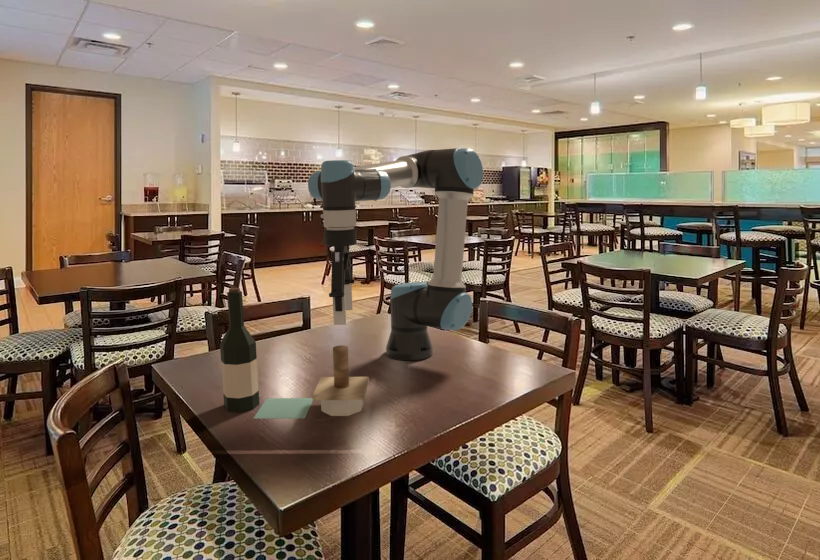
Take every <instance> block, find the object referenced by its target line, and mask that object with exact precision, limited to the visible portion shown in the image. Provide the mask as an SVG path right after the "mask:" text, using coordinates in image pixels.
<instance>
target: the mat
mask: <svg viewBox="0 0 820 560" xmlns="http://www.w3.org/2000/svg"><path fill="white" fill-rule="evenodd" d="M313 401H314V400H313V399H312V397H279V398H278V397H269V398H266V399H265V400H264V402H263V404H262V405H261V406H260V408H259V410H258V411H257V412H256V414H255V415H254V417H253V420H254V419H255V420H256V419H262V420H264V419H273V420H275V419H305V418H306V417H307V414H308V413H309V411H310V408H311V406H312V404H313Z"/></svg>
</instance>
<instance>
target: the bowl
mask: <svg viewBox="0 0 820 560" xmlns="http://www.w3.org/2000/svg"><path fill="white" fill-rule="evenodd" d="M363 405H364V400H320V410H321V412H323V413H325V414H327V415H328V416H330V417H350V416H351V415H354V414H357V413H359V412H362V409H363Z"/></svg>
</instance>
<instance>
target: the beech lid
mask: <svg viewBox="0 0 820 560" xmlns="http://www.w3.org/2000/svg"><path fill="white" fill-rule="evenodd" d="M332 358H333V359H332V360H333V361H332V363H333V364H332V365H333V376H320V379H319V381H318V383H317V385H316V387H315V389H314V391H313V393H312V394H311V395H312V397H311V398H312V399H313V401H321V400H363V401H365V398H366V396H367V395H366V394H367V391H368V390H367V389H368V385H369V381H370V380H369V378H370V377H369V376H350V369H349V368H350V367H349V346H348V345H336V346H333V347H332Z"/></svg>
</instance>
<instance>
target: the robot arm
mask: <svg viewBox="0 0 820 560" xmlns="http://www.w3.org/2000/svg"><path fill="white" fill-rule="evenodd" d="M483 169H484V167H483V164H482V160H481V158H480V156H479V155H478V153H477V152H476V151H475V150H474V149H472V148H468V147H466V148H463V147H455V148H444V149H428V150H424V151H419V152H415V153H413V154H412V153H411V154H408V155H401V156H399V157H398V158H397V159H396V160H391V161H383V162H378V163H371V164H365V165H357V166H354V161H352V160H347V159H346V160H345V159H344V160H342V159H340V160H339V159H335V160H325V161H322V163H321V167H320V170H319V171H318V170H317V171H314V172H313V173H312V174H310V176H309V178H308V181H307V188H308V192H309V194H310V196H311V197H312V198H313V199H315V200H320V201H322V202H321V203H322V213H321V214H320V218H321V219H323V221H322V222H323V227H324V228H325V229H324V230H323V243H324V245H325V246H326V247H333V248H334V250H333V252H331V253H330V255H331V286H330V288H331V289H330V292H329V293H328V297H329V298H332V312H333V317H332V318H333V326H342V325H343V326H344V325H347V311H353V292H352V290H353V289H352V285H353V284H355V279H354V278H353V276H352V274H353V273H352V266H351V251H350V247H351V246H355V245H356V244H357V239H358V238H357V229H356V228H355V227H356V226H357V212H356V211H357V210H356V202H368V201H371V202H372V201H375V202H376V201H378V200H383V199H386V198H387V197H388V196H389V194H390V192H391V189H393V188H403V189H410V188H423V189H424V188H425V189H434V194H435V196H436V197H437V198H438V211H437V222H436V223H437V224H436V237H435V247H434V249H435V251H434V261H433V263H434V264H433V274H432V275H433V276H432V277H433V278H432V279H431V280H430V281H429V282H425V281H413V282H404V283H399V284H396V285H394V286H391V287H392V288H391V289H390V299H389V301H390V332H389V336H388V339H387V342H386V346H385V347H386V348H385V354H386V356H387V357H388V358H390V359H394V360H397V361H418V360H419V361H420V360H424V359H428V358H429V357H431V356H433V354H434V353H433V352H434V349H433V347H434V346H433V344H432V340H431V337H430V334H429V331H428V327H431V328H437V329H441V330H443V331H454V332H455V331H458V330H459V331H460V330H461V329H462V328H464V327H465V325H466V324H467V323H468V322H469V320H470V318H471V315H472V313H473V312H472V311H473V300H472V297H471V295H470V294H469V293H467V291H466V290H467V288H466V287H467V286H466V284H464V282H463V281H462V277H463V264H464V263H463V262H464V253H465V252H464V251H465V240H466V239H465V238H466V225H467V217H468V216H467V214H468V203H469V202H468V201H469V200H470V199H471V198H472V197H473V196H474V191H475V190H476V189H477V188H479V187H480V186H481V184H482V182H483V178H484V170H483Z"/></svg>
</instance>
